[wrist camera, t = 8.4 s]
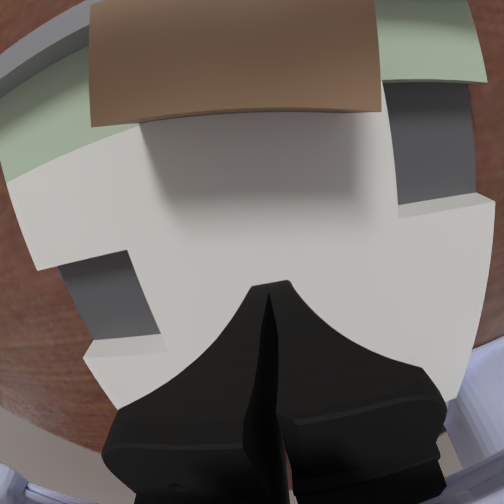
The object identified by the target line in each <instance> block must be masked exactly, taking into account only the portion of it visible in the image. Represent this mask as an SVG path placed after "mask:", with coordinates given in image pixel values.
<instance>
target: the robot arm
mask: <svg viewBox="0 0 504 504" xmlns="http://www.w3.org/2000/svg"><path fill="white" fill-rule="evenodd" d="M443 425H444V426H445V428H446V430H447V433H448V435H449V437H450V439H451V441H452V443H453V446H454V448H455V450H456V453H457V455H458V457H459V460H460V462H461V465H462V467H463V470H461V471H458V472H456V473H454V474H452V475H449V476H447V477H444V476H443V473H442V471H441V468H440V465H439V463H438V460H439V459H440V452H439V450H438V447H437V445H436V441H437V438H438V436H439V434H440V432H441V429H442V427H443ZM284 444H285V447H286V451H287V454H288V458H289V461H290V465H291V469H292V484H293V494H294V496H296V499H297V502H298V504H504V336H503V337H501V338H498V339H496V340H494V341H491V342H489V343H487V344H484V345H482V346H479V347H477V348H474V349H472V351H471V355H470V358H469V361H468V365H467V368H466V371H465V374H464V377H463V380H462V383H461V386H460V389H459V392H458V394H457V397H456V398H454V399H452V400H449V401H446V402H445V401H444V399H443V397H442V395H441V393H440V391H439V390H438V388H437V387H436V385H435V384H434V382H433V381H432V380H431V378H430V377H429V376H428V375H427V373H426V372H425V371H424V369H423V368H421V367H418V366H414V365H411V364H407V363H404V362H400V361H397V360H393V359H391V358H388V357H385V356H383V355H380V354H378V353H375V352H373V351H371V350H369V349H367V348H365V347H363V346H361V345H359V344H357V343H355V342H353V341H351V340H350V339H348V338H347V337H345V336H343V335H342V334H341V333H339V332H338V331H336V330H335V329H334V328H332V327H331V326H330V325H328V324H327V323H326V322H325V321H324V320H323V319H321V318H320V317H319V316H318V315H317V314H316V313H315V312H314V311H313V310H312V309H311V308H310V307H309V306H308V305H307V304H306V303H305V301H304V300H303V299H302V298H301V297H300V295H299V294H298V293H297V292H296V290H295V289H294V287H293V285H292V283H291V282H290V281H289V280H283V281H277V282H272V283H266V284H260V285H255V286H251V288H250V289H249V291H248V293H247V294H246V296H245V298H244V300H243V301H242V303H241V305H240V306H239V308H238V309H237V311H236V313H235V314H234V316H233V317H232V319H231V320H230V322H229V323H228V324H227V326H226V327H225V328H224V330H223V331H222V332H221V334H220V335H219V336H218V337H217V339H216V340H215V341H214V342H213V343H212V344H211V345H210V346H209V347H208V348H207V349H206V350H205V351H204V352H203V353H202V354H201V355H200V356H199V357H198V358H197V359H196V360H195V361H193V362H192V363H191V364H190V365H189V366H188V367H186V368H185V369H184V370H183V371H182V372H180V373H179V374H178V375H176V376H175V377H174V378H172V379H171V380H169V381H168V382H167V383H165V384H163V385H162V386H160V387H159V388H157V389H156V390H154V391H152V392H151V393H149V394H147V395H145V396H143V397H142V398H140V399H138V400H136V401H134V402H132V403H130V404H128V405H126V406H124V407H122V408H120V409H119V410H118V412H117V414H116V416H115V419H114V421H113V423H112V426H111V429H110V431H109V434H108V436H107V439H106V442H105V445H104V447H103V450H102V455H101V456H102V459H103V461H104V463H105V465H106V466H107V468H108V469H109V470H110V471H111V472H112V473H113V474H114V475H115V476H116V477H117V478H118V479H119V480H121V481H122V482H123V483H124V484H125V485H126V486H127V487H129V488H130V489H131V490H132V491H133V492H134V493H136V498H135V502H134V504H290V500H289V489H288V479H287V469H286V458H285V447H284ZM0 504H97V503H93V502H89V501H86V500H82V499H78V498H75V497H72V496H68V495H65V494H62V493H59V492H56V491H53V490H50V489H47V488H44V487H41V486H39V485H36V484H33V483H31V482H28V481H27V480H26V479H25V478H24V477H23V476H22V475H21V474H20V473H18V472H17V471H16V470H15V469H13V468H12V467H10V466H8V465H6V464H4V463H1V462H0Z"/></svg>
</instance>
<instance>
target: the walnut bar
mask: <svg viewBox="0 0 504 504" xmlns="http://www.w3.org/2000/svg"><path fill="white" fill-rule="evenodd" d="M88 67H89V101H90V118H91V128H92V127H101V126H111V125H122V124H136V123H144V122H151V121H158V120H166V119H175V118H184V117H194V116H205V115H218V114H234V113H257V112H320V113H365V112H382V107H381V74H380V57H379V43H378V32H377V22H376V13H375V5H374V0H103V1H100V2H97V3H94V4H91V6H90V21H89V55H88Z"/></svg>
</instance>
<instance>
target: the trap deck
mask: <svg viewBox="0 0 504 504" xmlns="http://www.w3.org/2000/svg"><path fill="white" fill-rule="evenodd" d="M100 1H103V0H86V1H84V2H82V3H80V4H78V5H76V6H74V7H72V8H71V9H69V10H67V11H65V12H63V13H62V14H60V15H58V16H56V17H55V18H53V19H51V20H50V21H48V22H47V23H45V24H43V25H42V26H40V27H39V28H37V29H36V30H34V31H33V32H31V33H30V34H28V35H27V36H25V37H24V38H22V39H21V40H19V41H18V42H17V43H15V44H14V45H13V46H11V47H10V48H8V49H7V50H6V51H5V52H3V53H2V54H1V55H0V161H1V165H2V169H3V173H4V177H5V180H6V184H7V188H8V191H9V194H10V198H11V201H12V204H13V207H14V210H15V213H16V216H17V219H18V222H19V225H20V228H21V231H22V233H23V236H24V239H25V242H26V244H27V247H28V249H29V252H30V254H31V257H32V259H33V262H34V264H35V266H36V269H37V271H39V270H43V269H47V268H51V267H55V266H58V268H59V271H60V273H61V275H62V278H63V280H64V282H65V284H66V286H67V289H68V291H69V293H70V295H71V297H72V299H73V301H74V303H75V305H76V308H77V310H78V312H79V314H80V316H81V317H82V319H83V321H84V323H85V325H86V327H87V329H88V331H89V333H90V335H91V336H92V338H93V342H92V344H91V345H90V347H89V348H88V350H87V352H86V353H85V355H84V357H83V359H84V361H85V362H86V364H87V366H88V367H89V369H90V370H91V372H92V374H93V375H94V377H95V378H96V380H97V381H98V383H99V384H100V386H101V387H102V389H103V390H104V392H105V393H106V394H107V396H108V397H109V399H110V400H111V402H112V403H113V404H114V406H115V407H116V408H117V410H119V409H120V408H122V407H124V406H126V405H128V404H130V403H132V402H134V401H136V400H138V399H140V398H142V397H143V396H145V395H147V394H149V393H151V392H152V391H154V390H156V389H157V388H159V387H160V386H162V385H163V384H165V383H167V382H168V381H169V380H171V379H172V378H174V377H175V376H176V375H178V374H179V373H180V372H182V371H183V370H184V369H185V368H186V367H188V366H189V365H190V364H191V363H192V362H193V361H195V360H196V359H197V358H198V357H199V356H200V355H201V354H202V353H203V352H204V351H205V350H206V349H207V348H208V347H209V346H210V345H211V344H212V343H213V342H214V341H215V340H216V339H217V337H218V336H219V335H220V334H221V332H222V331H223V330H224V328H225V327H226V326H227V324H228V323H229V322H230V320H231V319H232V317H233V316H234V314H235V313H236V311H237V309H238V308H239V306H240V305H241V303H242V301H243V300H244V298H245V296H246V294H247V293H248V291H249V289H250V288H251V286H255V285H260V284H266V283H272V282H277V281H283V280H289V281H290V282H291V283H292V285H293V287H294V289H295V290H296V292H297V293H298V294H299V295H300V297H301V298H302V299H303V300H304V301H305V303H306V304H307V305H308V306H309V307H310V308H311V309H312V310H313V311H314V312H315V313H316V314H317V315H318V316H319V317H320V318H321V319H323V320H324V321H325V322H326V323H327V324H328V325H330V326H331V327H332V328H334V329H335V330H336V331H338V332H339V333H341V334H342V335H343V336H345V337H347V338H348V339H350V340H351V341H353V342H355V343H357V344H359V345H361V346H363V347H365V348H367V349H369V350H371V351H373V352H375V353H378V354H380V355H383V356H385V357H388V358H391V359H393V360H397V361H400V362H404V363H407V364H411V365H414V366H418V367H421V368H423V369H424V371H425V372H426V373H427V375H428V376H429V377H430V378H431V380H432V381H433V382H434V384H435V385H436V387H437V388H438V390H439V391H440V393H441V395H442V397H443V399H444V401H445V402H446V401H449V400H452V399H454V398H456V397H457V394H458V392H459V389H460V386H461V383H462V380H463V377H464V374H465V371H466V368H467V365H468V361H469V358H470V355H471V351H472V348H473V344H474V340H475V337H476V333H477V329H478V325H479V320H480V316H481V311H482V307H483V302H484V297H485V291H486V286H487V280H488V273H489V266H490V259H491V251H492V241H493V231H494V216H495V201H493V200H491V199H489V198H487V197H485V196H482V195H480V194H478V193H476V166H475V147H474V134H473V124H472V115H471V107H470V100H469V93H468V87H467V83H487V77H486V72H485V67H484V62H483V57H482V53H481V48H480V44H479V40H478V36H477V33H476V29H475V25H474V22H473V19H472V15H471V12H470V9H469V6H468V3H467V0H374V5H375V13H376V22H377V32H378V43H379V57H380V74H381V107H382V112H365V113H320V112H257V113H234V114H218V115H205V116H194V117H184V118H175V119H166V120H158V121H151V122H144V123H136V124H122V125H111V126H101V127H92V128H91V118H90V101H89V67H88V55H89V21H90V6H91V4H94V3H97V2H100Z"/></svg>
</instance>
